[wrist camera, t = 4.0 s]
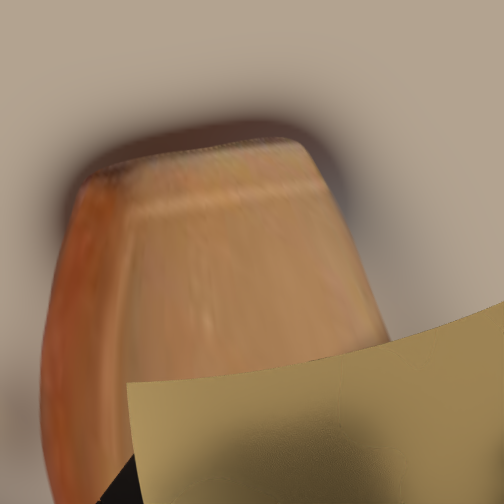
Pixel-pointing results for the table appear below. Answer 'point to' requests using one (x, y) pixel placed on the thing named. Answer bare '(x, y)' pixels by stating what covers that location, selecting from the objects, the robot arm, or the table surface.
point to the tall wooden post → (335, 426)
